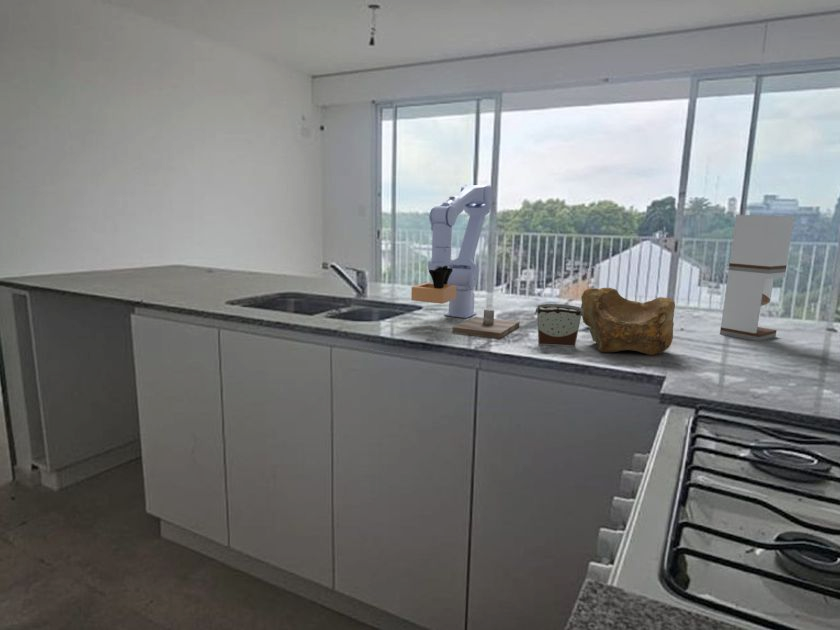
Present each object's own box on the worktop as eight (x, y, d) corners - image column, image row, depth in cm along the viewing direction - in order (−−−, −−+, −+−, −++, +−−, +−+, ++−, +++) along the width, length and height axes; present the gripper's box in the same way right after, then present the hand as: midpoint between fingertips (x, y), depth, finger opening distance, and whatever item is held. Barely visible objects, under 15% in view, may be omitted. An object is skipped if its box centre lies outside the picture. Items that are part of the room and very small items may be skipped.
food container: (576, 341, 145) (579, 304, 143) (581, 346, 139) (584, 308, 137) (530, 338, 146) (532, 302, 144) (532, 344, 140) (535, 306, 138)
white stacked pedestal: (758, 341, 152) (777, 215, 145) (719, 333, 160) (736, 214, 154) (775, 336, 158) (794, 216, 152) (737, 330, 167) (753, 215, 160)
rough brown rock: (563, 352, 136) (569, 294, 131) (580, 335, 149) (586, 283, 145) (663, 371, 124) (672, 308, 120) (671, 350, 138) (680, 294, 134)
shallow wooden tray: (425, 295, 166) (426, 282, 165) (455, 298, 161) (456, 285, 161) (411, 300, 157) (411, 286, 156) (442, 303, 153) (443, 289, 152)
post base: (475, 321, 168) (476, 304, 167) (519, 326, 162) (520, 308, 161) (452, 332, 151) (453, 313, 150) (500, 338, 145) (501, 318, 144)
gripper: (439, 245, 168) (437, 288, 171) (418, 247, 155) (417, 293, 158) (460, 246, 165) (458, 290, 168) (441, 248, 152) (439, 295, 155)
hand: (439, 292), depth 163 cm, fingers closed on shallow wooden tray
